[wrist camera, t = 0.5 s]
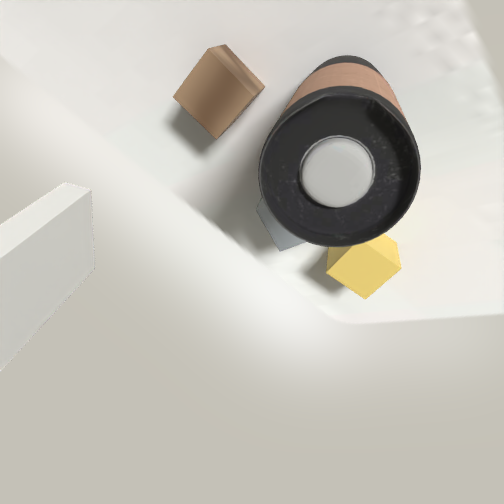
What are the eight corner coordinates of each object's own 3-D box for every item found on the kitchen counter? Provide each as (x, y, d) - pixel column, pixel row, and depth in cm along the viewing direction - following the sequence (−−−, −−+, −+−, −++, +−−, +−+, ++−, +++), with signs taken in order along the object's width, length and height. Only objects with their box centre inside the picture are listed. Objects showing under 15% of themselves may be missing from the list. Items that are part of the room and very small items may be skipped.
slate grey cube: (265, 189, 41) (255, 209, 37) (308, 170, 39) (303, 189, 35) (286, 228, 43) (279, 251, 39) (329, 211, 41) (326, 234, 36)
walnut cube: (192, 87, 37) (172, 96, 33) (225, 44, 34) (208, 48, 30) (231, 125, 38) (216, 139, 34) (265, 86, 36) (253, 96, 31)
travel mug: (332, 158, 37) (318, 274, 21) (283, 93, 35) (223, 165, 19) (405, 105, 34) (458, 195, 17) (354, 29, 32) (359, 49, 15)
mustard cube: (328, 247, 43) (326, 272, 39) (358, 215, 40) (359, 239, 36) (364, 272, 43) (365, 299, 39) (396, 242, 41) (401, 268, 37)
